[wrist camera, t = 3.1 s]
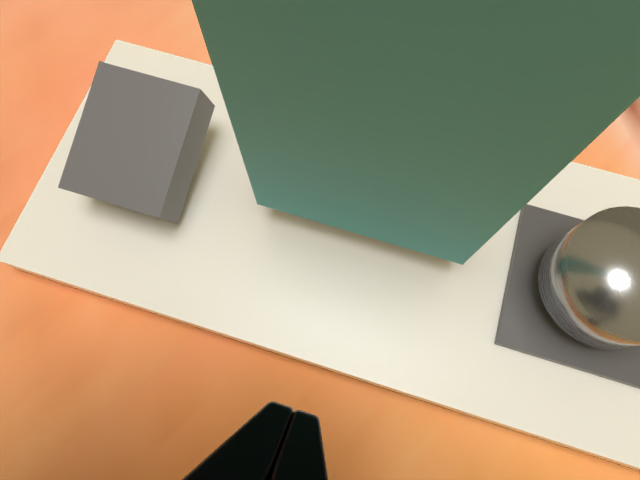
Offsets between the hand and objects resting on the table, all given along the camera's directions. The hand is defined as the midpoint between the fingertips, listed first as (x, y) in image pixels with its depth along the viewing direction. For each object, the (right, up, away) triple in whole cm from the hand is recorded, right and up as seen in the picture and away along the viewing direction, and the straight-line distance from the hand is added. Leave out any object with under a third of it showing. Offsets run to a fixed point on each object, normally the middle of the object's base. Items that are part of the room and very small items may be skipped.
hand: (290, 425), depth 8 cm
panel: (+2, +3, +11) cm, 11 cm away
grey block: (-6, +6, +9) cm, 12 cm away
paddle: (+2, +4, +8) cm, 9 cm away
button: (+10, +2, +8) cm, 12 cm away
